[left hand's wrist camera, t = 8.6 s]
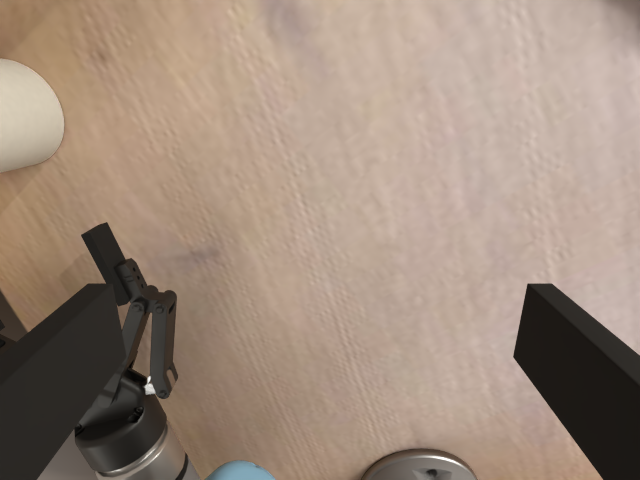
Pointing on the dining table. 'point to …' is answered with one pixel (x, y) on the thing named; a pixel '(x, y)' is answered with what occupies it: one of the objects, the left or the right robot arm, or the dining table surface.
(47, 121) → the jar
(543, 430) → the dining table surface
